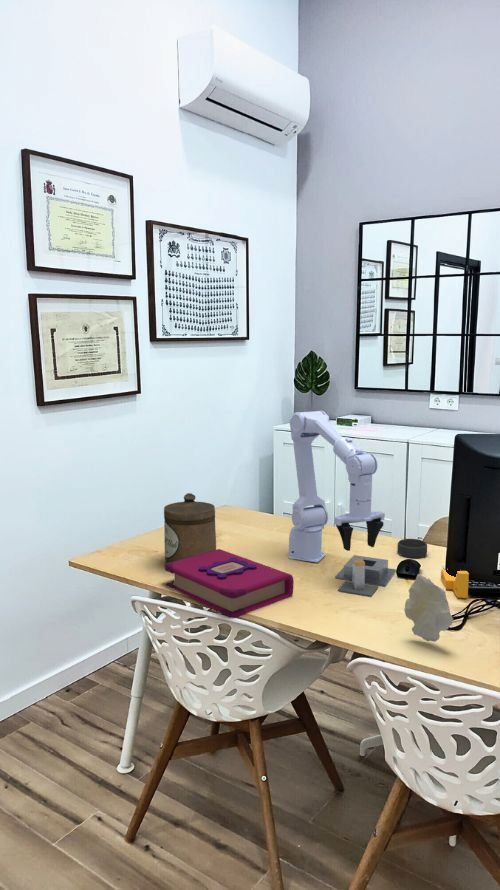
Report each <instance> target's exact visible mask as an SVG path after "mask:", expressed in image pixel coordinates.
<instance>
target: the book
mask: <svg viewBox="0 0 500 890" xmlns="http://www.w3.org/2000/svg"><path fill="white" fill-rule="evenodd" d="M164 570H165V571H166V572H168V573H171V574H174V580H172V581H168V582H166V583H165V586H166V587H168V588H170V589H172V590H175V591H177V592H179V593H181V594H183V595H185V596H187V597H189V598H191V599H194V600H196V601H197V602H199V603H201V604H203V605H205V606H207V607H209V608H211V609H212V610H214V611H217V612H219V613H221V614H222V615H223V616H226V617H228V618H233V619H236V618H239V617H241V616H245V615H246V614H249V613H252V612H254V611H256V610H259V609H262V608H264V607H267V606H270V605H273V604H276V603H278V602H280V601H283V600H286V599H288V598H292V597H293V594H294V576H293V574H291V573H288V572H285V571H282V570H279V569H276V568H274V567H270V566H268V565H265V564H262V563H260V562H256V561H254V560H251V559H250V558H246V557H243V556H241V555H240V556H239V555H237V554H234V553H231V552H229V551H226V550H223V549H221V548H216V550H213V551H210V552H206V553H203V554H199V555H196V556H192V557H188V558H185V559H181V560H178V561H172V562H168V563H166V564H165V563H164Z"/></svg>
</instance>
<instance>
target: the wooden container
mask: <svg viewBox="0 0 500 890" xmlns="http://www.w3.org/2000/svg"><path fill="white" fill-rule="evenodd" d="M183 500H184V501H178V502H173V503H168V504H166V505H165V506H164V507H163V518H164V520H163V521H164V526H163V527H164V539H163V541H164V565H165V564H166V563H168V562H172V561H178V560H181V559H185V558H188V557H192V556H196V555H199V554H203V553H206V552H210V551H213V550H217V537H216V533H217V532H216V508H215V505H214V504H212V503H209V502H205V501H195V500H196V495H194V494H193V493H192V492H189V493H186V494H185V495H183Z"/></svg>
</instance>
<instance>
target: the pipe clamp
mask: <svg viewBox="0 0 500 890" xmlns="http://www.w3.org/2000/svg"><path fill="white" fill-rule="evenodd" d="M469 575H470V573H469V572H468V571H467V570H460V571H457V574H456V577H454V576H451V575H449V574H448V573H447V572H446V570H445V569H441V570H440V581H441V583H442V585H443V587H444V588H445V590H452V591H453V593H454V595H455V597H456V598H460V599H462V598H463V599H468V598H469V597H468V595H469V580H470V578H469Z"/></svg>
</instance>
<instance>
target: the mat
mask: <svg viewBox="0 0 500 890" xmlns="http://www.w3.org/2000/svg"><path fill="white" fill-rule="evenodd" d="M378 589H379V586H377V585H371V584H364V590H354V589H353V587H352V581H346V580H344V582H343V583H342V585H341V586H339V588H338V589H337V592H338V591H339V593H346V594H351V595H356V596H357V595H358V596H363V597H370V598H372V597H373V596H374V595H375V593H376V592H377V590H378Z"/></svg>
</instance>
